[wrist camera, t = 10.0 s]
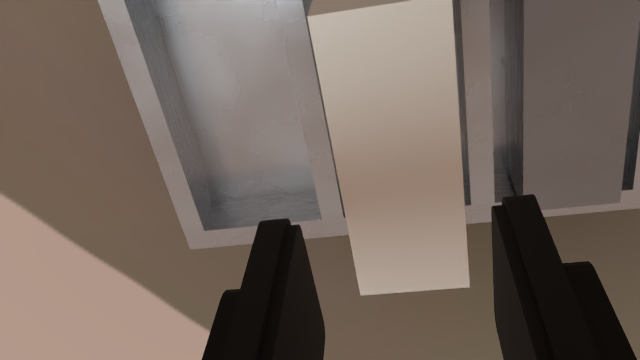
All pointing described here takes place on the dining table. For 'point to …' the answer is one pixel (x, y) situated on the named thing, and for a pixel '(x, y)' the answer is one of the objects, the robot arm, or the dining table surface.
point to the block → (395, 138)
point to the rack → (311, 123)
